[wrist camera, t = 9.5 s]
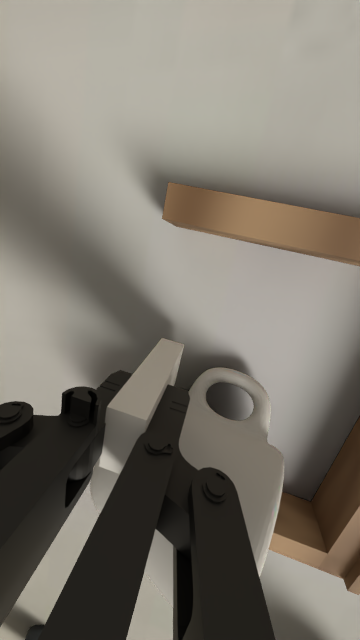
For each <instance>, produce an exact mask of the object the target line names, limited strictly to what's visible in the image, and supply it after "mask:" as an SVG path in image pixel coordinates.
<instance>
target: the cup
mask: <svg viewBox="0 0 360 640" xmlns="http://www.w3.org/2000/svg"><path fill="white" fill-rule="evenodd" d="M217 382H226V383H231V384H234V385H236V386H238V387H240V388H242V389H243V390H245V391H246V392H247V393H248V394H249V395H250V396H251V398H252V400H253V404H254V408H253V412H252V414H251V415H250V417H248V418H247V419H245V420H240V421H236V420H230V419H227V418H224V417H222V416H220V415H218V414H217V413H216V412H214V411H213V410H212V409H211V408H210V407H209V405H208V403H207V401H206V392H207V390H208V388H209V387H210V386H211V385H212V384H214V383H217ZM189 396H190V402H189V405H188V409H187V413H186V417H185V420H184V424H183V428H182V431H181V435H180V439H179V449H180V452H181V454H182V456H183V457H184V458H185V460H186V461H187V462H188V463H190V464H191V465H192V466H193V467H195V468H196V469H198V470H200V469H202V468H207V467H212V468H215V469H218V470H220V471H222V472H223V473H225V474H226V475H227V476H228V477H229V478H230V479H231V480H232V482H233V483H234V485H235V488H236V490H237V493H238V496H239V500H240V504H241V508H242V512H243V516H244V520H245V524H246V528H247V531H248V535H249V539H250V543H251V547H252V551H253V555H254V559H255V563H256V566H257V570H258V574H259V578H260V575H261V572H262V569H263V565H264V562H265V559H266V556H267V553H268V549H269V545H270V542H271V538H272V535H273V531H274V527H275V523H276V519H277V514H278V510H279V505H280V499H281V494H282V487H283V479H284V459H283V456H282V453H281V452H280V451H279V450H278V449H277V448H276V447H274V446H272V445H270V444H268V442H267V435H268V430H269V424H270V418H271V405H270V400H269V397H268V395H267V392H266V391H265V389H264V388H263V387H262V386H261V385H260V384H259V383H258V382H257V381H256V380H254V379H253V378H252V377H250V376H248V375H246V374H244V373H242V372H239V371H236V370H233V369H229V368H220V367H218V368H211V369H208V370H206V371H205V372H203V373H202V374H201V375H200V376H199V377H198V378H197V380H196V381H195V382H194V384H193V385H192V387H191V389H190V390H189ZM99 463H100V458H99V459H98V461H97V462H96V464H95V466H94V469H93V474H92V477H91V483H90V491H91V497H92V500H93V503H94V505H95V507H96V509H97V511H98V513H99V514H100V513H101V511H102V509H103V507H104V505H105V503H106V501H107V499H108V497H109V495H110V493H111V491H112V489H113V487H114V485H115V483H116V481H117V479H118V477H119V475H120V474H118V473H115V472H113V471H110V470H107V469H105V468H102V467H99ZM144 573H145V574H146V575H147V576H148V578H149V579H150V580H151V582H152V583H153V584H154V585H155V587H156V588H157V589H158V590H159V592H160V593H161V594H162V596H163V597H164V598H165V599H166V601H167V602H168V603H169V605H170V606H171V607H172V608H173V545H172V544H171V543H170V542H169V541H168V540H167V539H166V538H165V537H164V536H163V535H162V534H161V533H160V532H159V531H157V530H156V529H155V533H154V537H153V540H152V544H151V548H150V552H149V555H148V559H147V563H146V567H145V570H144Z"/></svg>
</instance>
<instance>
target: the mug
mask: <svg viewBox="0 0 360 640" xmlns="http://www.w3.org/2000/svg"><path fill="white" fill-rule="evenodd" d="M44 626H45V625H34V626H32V627H30V629H29V631H28V633H27V636H26V638H25V640H38V638H39V636H40V634H41V632H42V630H43V628H44Z"/></svg>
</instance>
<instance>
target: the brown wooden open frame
mask: <svg viewBox="0 0 360 640" xmlns="http://www.w3.org/2000/svg"><path fill="white" fill-rule="evenodd" d="M162 219H164V220H165V221H167V222H169V223H171V224H173V225H175V226H177V227H181V228H186V229H191V230H195V231H200V232H205V233H209V234H214V235H218V236H223V237H228V238H232V239H237V240H241V241H246V242H251V243H255V244H260V245H265V246H269V247H274V248H278V249H283V250H288V251H292V252H297V253H302V254H306V255H311V256H315V257H320V258H325V259H329V260H334V261H339V262H343V263H348V264H352V265H357V266H360V218H356V217H351V216H346V215H340V214H335V213H330V212H324V211H319V210H314V209H308V208H303V207H298V206H293V205H287V204H282V203H277V202H271V201H266V200H261V199H256V198H250V197H245V196H240V195H234V194H229V193H224V192H219V191H213V190H208V189H203V188H197V187H192V186H187V185H182V184H176V183H171V182H168V188H167V193H166V199H165V205H164V210H163V216H162ZM269 550H272V551H274V552H277V553H279V554H282V555H284V556H287V557H289V558H292V559H294V560H297V561H299V562H302V563H304V564H307V565H309V566H312V567H314V568H317V569H319V570H322V571H324V572H327V573H329V574H332V575H334V576H337V577H339V578H342V579H344V582H345V585H346V588H347V591H350V592H352V593H355V594H357V595H359V594H360V417H359V418H358V420H357V422H356V424H355V425H354V427H353V429H352V431H351V432H350V434H349V436H348V438H347V439H346V441H345V443H344V445H343V446H342V448H341V450H340V452H339V454H338V455H337V457H336V459H335V461H334V462H333V464H332V466H331V468H330V469H329V471H328V473H327V475H326V476H325V478H324V480H323V482H322V484H321V485H320V487H319V489H318V491H317V492H316V494H315V496H314V498H313V499H312V501H311V502H309V501H307V500H304V499H301V498H298V497H295V496H293V495H290V494H287V493H284V492H282V494H281V499H280V505H279V510H278V514H277V519H276V523H275V527H274V531H273V535H272V538H271V542H270V545H269Z"/></svg>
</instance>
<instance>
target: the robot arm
mask: <svg viewBox="0 0 360 640" xmlns="http://www.w3.org/2000/svg"><path fill="white" fill-rule="evenodd" d="M183 348H184V344H182V343H178V342H174V341H171V340H168V339H164V338H161V340H160V341H159V342H158V343H157V345H156V346H155V347H154V348H153V350H152V351H151V352H150V353H149V355H148V356H147V357H146V358H145V360H144V361H143V362H142V363H141V365H140V366H139V367H138V368H137V370H136V371H135V372H134V373H133V374H131V373H128V372H124V371H121V370H120V371H117V372H115V373H113V374H111V375H110V376H109V377H108V378H107V379H106V380H105V382H103V383H102V384H101V385H100V387H98V388H97V389H96V390H95V389H93V388H90V387H75V388H71V389H68V390H66V391H65V392H63V393H62V407H61V414H60V415H59V416H44V415H33V408H32V406H31V405H30V404H28V403H25V402H18V401H14V402H8V403H4V404H1V405H0V627H1V625H2V623H3V622H4V620H5V618H6V617H7V615H8V614H9V612H10V610H11V609H12V607H13V605H14V604H15V602H16V601H17V599H18V597H19V596H20V594H21V592H22V591H23V589H24V588H25V586H26V584H27V583H28V581H29V579H30V578H31V576H32V575H33V573H34V571H35V570H36V568H37V566H38V565H39V563H40V562H41V560H42V558H43V557H44V555H45V553H46V552H47V550H48V549H49V547H50V545H51V544H52V542H53V540H54V539H55V537H56V536H57V534H58V532H59V531H60V529H61V527H62V526H63V524H64V522H65V521H66V519H67V518H68V516H69V514H70V513H71V511H72V509H73V508H74V506H75V505H76V503H77V501H78V500H79V498H80V496H81V495H82V493H83V492H84V490H85V488H86V487H87V485H88V483H89V482H90V480H91V477H92V474H93V467H94V465H95V464H96V462H97V461H98V459H99V458H100V463H99V467H102V468H105V469H107V470H110V471H113V472H115V473H118V474H120V475H119V477H118V479H117V481H116V483H115V485H114V487H113V489H112V491H111V493H110V495H109V497H108V499H107V501H106V503H105V505H104V507H103V509H102V511H101V513H100V515H99V517H98V519H97V521H96V523H95V525H94V527H93V529H92V531H91V533H90V535H89V537H88V539H87V541H86V543H85V545H84V547H83V549H82V551H81V553H80V556H79V558H78V560H77V562H76V564H75V566H74V568H73V570H72V572H71V574H70V576H69V578H68V580H67V582H66V584H65V586H64V588H63V590H62V592H61V594H60V596H59V598H58V600H57V602H56V604H55V606H54V608H53V610H52V612H51V614H50V616H49V618H48V620H47V622H46V624H45V626H44V628H43V630H42V632H41V634H40V636H39V638H38V640H126V637H127V634H128V630H129V626H130V622H131V619H132V615H133V611H134V608H135V604H136V600H137V596H138V593H139V589H140V585H141V581H142V578H143V574H144V570H145V567H146V563H147V559H148V555H149V552H150V548H151V544H152V540H153V537H154V533H155V529H156V530H157V531H159V532H160V533H161V534H162V535H163V536H164V537H165V538H166V539H167V540H168V541H169V542H170V543H171V544H172V545H173V640H275V636H274V633H273V629H272V625H271V621H270V617H269V613H268V609H267V605H266V601H265V598H264V594H263V590H262V586H261V582H260V578H259V574H258V570H257V566H256V563H255V559H254V555H253V551H252V547H251V543H250V539H249V535H248V531H247V528H246V524H245V520H244V516H243V512H242V508H241V504H240V500H239V496H238V493H237V490H236V488H235V485H234V483H233V482H232V480H231V479H230V478H229V477H228V476H227V475H226V474H225V473H223V472H222V471H220V470H218V469H215V468H212V467H207V468H202V469H200V470H198V469H196V468H195V467H193V466H192V465H191V464H190V463H188V462H187V461H186V460H185V458H184V457H183V456H182V454H181V452H180V449H179V439H180V435H181V431H182V428H183V424H184V420H185V417H186V413H187V409H188V405H189V402H190V396H189V392H188V390H185V389H181V388H178V387H175V386H174V385H175V382H176V377H177V373H178V369H179V365H180V361H181V356H182V352H183Z"/></svg>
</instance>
